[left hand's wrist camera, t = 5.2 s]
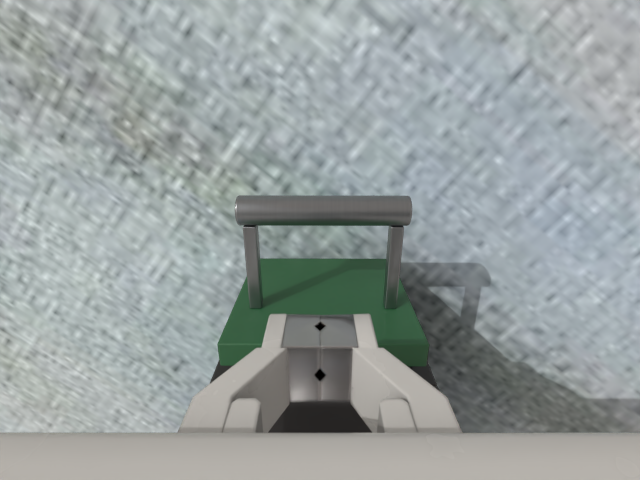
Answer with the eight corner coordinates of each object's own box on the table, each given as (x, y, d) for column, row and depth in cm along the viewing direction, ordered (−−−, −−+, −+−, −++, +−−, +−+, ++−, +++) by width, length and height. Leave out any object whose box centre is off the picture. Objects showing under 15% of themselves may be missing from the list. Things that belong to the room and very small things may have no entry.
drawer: (247, 172, 21) (199, 216, 13) (398, 172, 21) (447, 216, 13) (269, 452, 30) (248, 586, 21) (375, 453, 30) (395, 587, 21)
